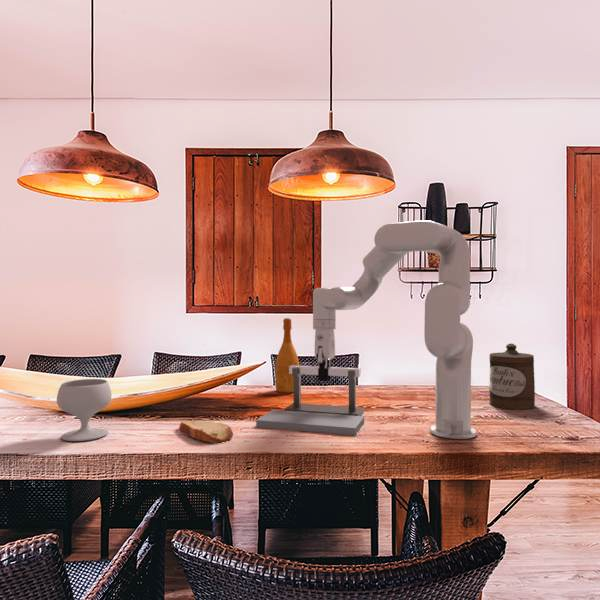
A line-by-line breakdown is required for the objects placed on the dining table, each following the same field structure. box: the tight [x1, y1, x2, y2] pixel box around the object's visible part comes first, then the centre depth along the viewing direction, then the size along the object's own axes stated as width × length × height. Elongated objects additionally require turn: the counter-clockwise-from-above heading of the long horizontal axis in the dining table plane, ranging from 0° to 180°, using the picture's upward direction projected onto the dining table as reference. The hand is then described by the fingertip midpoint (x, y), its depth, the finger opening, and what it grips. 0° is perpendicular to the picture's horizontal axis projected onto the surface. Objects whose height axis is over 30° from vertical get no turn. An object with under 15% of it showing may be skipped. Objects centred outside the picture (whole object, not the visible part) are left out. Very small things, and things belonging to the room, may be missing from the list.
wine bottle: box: [274, 317, 300, 394], centre depth 200 cm, size 10×10×30 cm
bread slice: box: [178, 420, 234, 444], centre depth 138 cm, size 18×18×4 cm
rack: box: [283, 368, 365, 416], centre depth 163 cm, size 10×25×15 cm, turn 73°
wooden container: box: [488, 343, 536, 410], centre depth 174 cm, size 15×15×22 cm
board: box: [255, 409, 365, 436], centre depth 147 cm, size 14×30×2 cm, turn 73°
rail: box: [289, 365, 362, 378], centre depth 163 cm, size 2×24×2 cm, turn 73°
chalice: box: [56, 378, 112, 442], centre depth 136 cm, size 14×14×15 cm
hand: (324, 379), depth 163 cm, fingers closed on rail, 2 cm apart
